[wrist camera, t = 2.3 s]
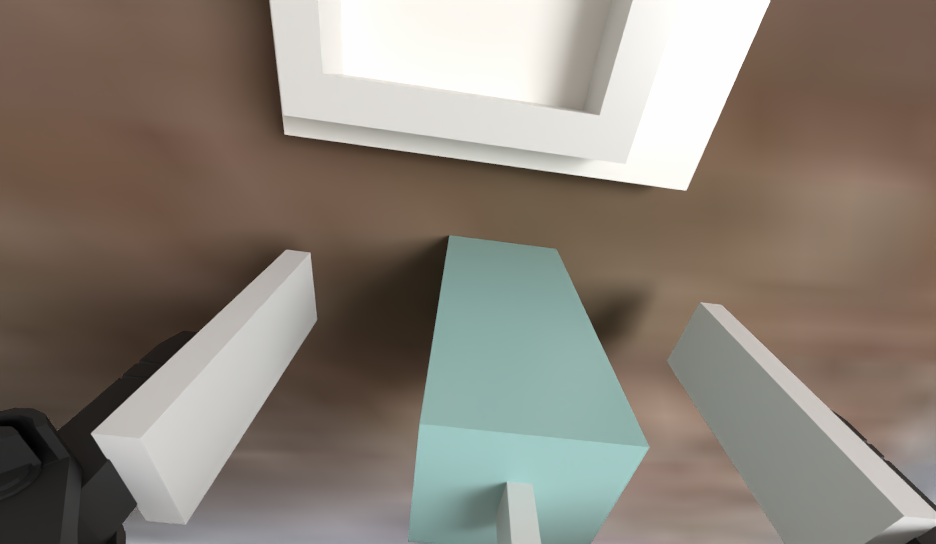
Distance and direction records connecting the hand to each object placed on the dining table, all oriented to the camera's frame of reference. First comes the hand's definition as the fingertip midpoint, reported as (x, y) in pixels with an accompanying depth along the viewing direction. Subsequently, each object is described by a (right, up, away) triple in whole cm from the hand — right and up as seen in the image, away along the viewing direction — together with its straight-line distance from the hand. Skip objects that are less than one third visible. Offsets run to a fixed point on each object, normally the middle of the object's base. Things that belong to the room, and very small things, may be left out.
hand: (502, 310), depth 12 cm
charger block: (0, +1, +2) cm, 2 cm away
